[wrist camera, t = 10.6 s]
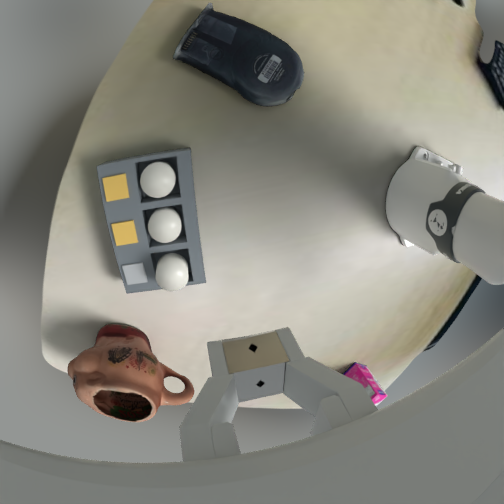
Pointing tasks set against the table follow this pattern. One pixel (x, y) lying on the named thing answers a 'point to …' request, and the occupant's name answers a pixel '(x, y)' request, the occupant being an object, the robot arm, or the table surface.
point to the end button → (158, 179)
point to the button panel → (138, 215)
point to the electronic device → (242, 57)
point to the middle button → (165, 224)
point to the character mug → (124, 376)
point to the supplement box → (367, 382)
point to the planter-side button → (172, 272)
